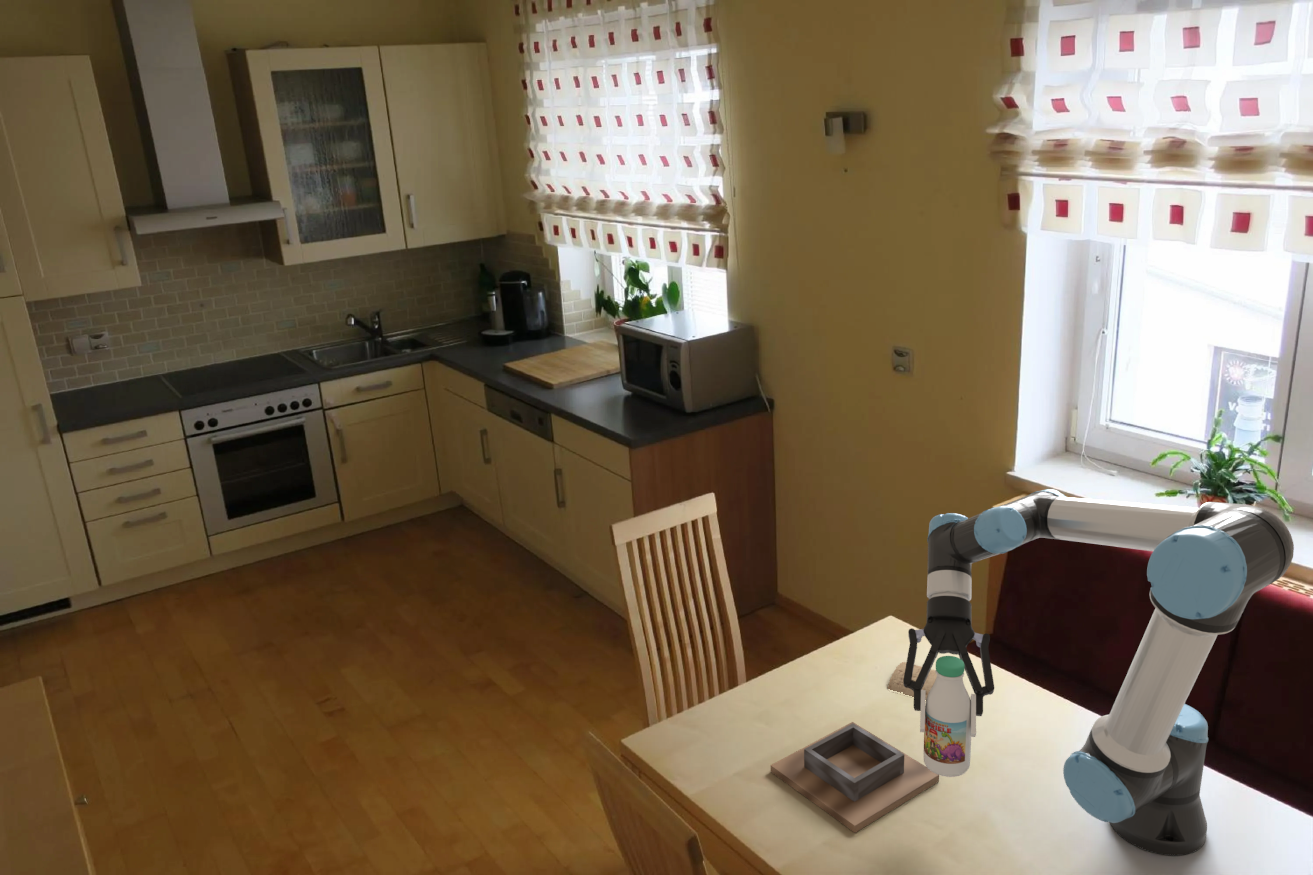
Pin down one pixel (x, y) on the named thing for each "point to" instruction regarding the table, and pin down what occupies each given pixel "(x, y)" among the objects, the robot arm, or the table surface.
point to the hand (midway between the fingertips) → (947, 732)
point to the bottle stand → (854, 775)
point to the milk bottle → (948, 720)
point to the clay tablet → (898, 677)
